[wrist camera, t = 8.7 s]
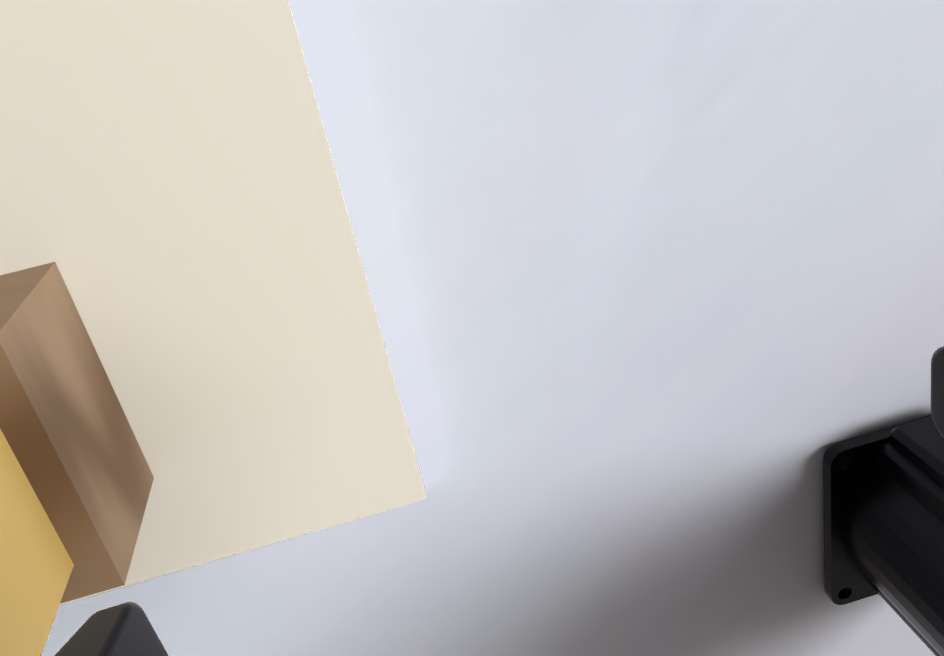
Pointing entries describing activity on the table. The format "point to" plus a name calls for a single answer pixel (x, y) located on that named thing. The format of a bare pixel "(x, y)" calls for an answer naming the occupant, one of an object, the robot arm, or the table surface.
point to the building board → (203, 264)
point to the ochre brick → (27, 563)
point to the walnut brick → (69, 430)
